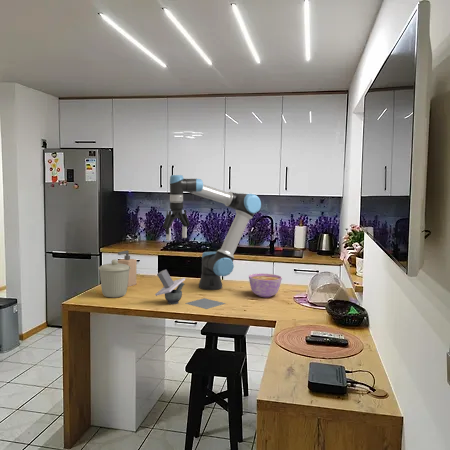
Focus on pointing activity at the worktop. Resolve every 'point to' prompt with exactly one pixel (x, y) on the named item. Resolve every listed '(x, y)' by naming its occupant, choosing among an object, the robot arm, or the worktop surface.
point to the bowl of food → (265, 284)
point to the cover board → (167, 282)
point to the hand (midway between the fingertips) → (176, 238)
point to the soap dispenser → (132, 264)
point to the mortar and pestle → (174, 295)
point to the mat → (205, 303)
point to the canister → (114, 279)
